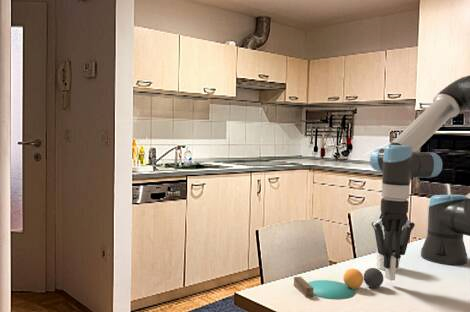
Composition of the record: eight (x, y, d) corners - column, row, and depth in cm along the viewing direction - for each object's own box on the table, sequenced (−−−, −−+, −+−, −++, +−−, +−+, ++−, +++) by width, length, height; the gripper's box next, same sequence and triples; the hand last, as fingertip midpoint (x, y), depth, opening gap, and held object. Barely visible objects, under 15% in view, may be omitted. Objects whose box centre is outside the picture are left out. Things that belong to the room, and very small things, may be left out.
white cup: (402, 273, 145) (403, 242, 144) (376, 270, 146) (378, 240, 146) (398, 265, 152) (400, 236, 152) (373, 263, 154) (375, 234, 153)
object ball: (358, 281, 133) (355, 263, 132) (368, 288, 128) (365, 269, 127) (341, 287, 132) (338, 269, 131) (351, 294, 127) (347, 275, 126)
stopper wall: (300, 285, 131) (300, 276, 130) (312, 296, 122) (313, 287, 122) (293, 285, 130) (294, 277, 130) (306, 297, 121) (306, 288, 121)
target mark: (340, 279, 136) (340, 279, 136) (364, 297, 123) (364, 296, 123) (297, 282, 133) (297, 281, 133) (316, 300, 120) (316, 299, 120)
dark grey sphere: (362, 263, 133) (357, 281, 133) (373, 270, 127) (368, 288, 128) (378, 267, 134) (373, 284, 134) (389, 273, 129) (384, 292, 129)
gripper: (406, 196, 136) (401, 273, 138) (367, 196, 133) (363, 275, 134) (422, 200, 129) (417, 282, 130) (382, 201, 126) (376, 284, 127)
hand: (389, 278), depth 132 cm, fingers closed
